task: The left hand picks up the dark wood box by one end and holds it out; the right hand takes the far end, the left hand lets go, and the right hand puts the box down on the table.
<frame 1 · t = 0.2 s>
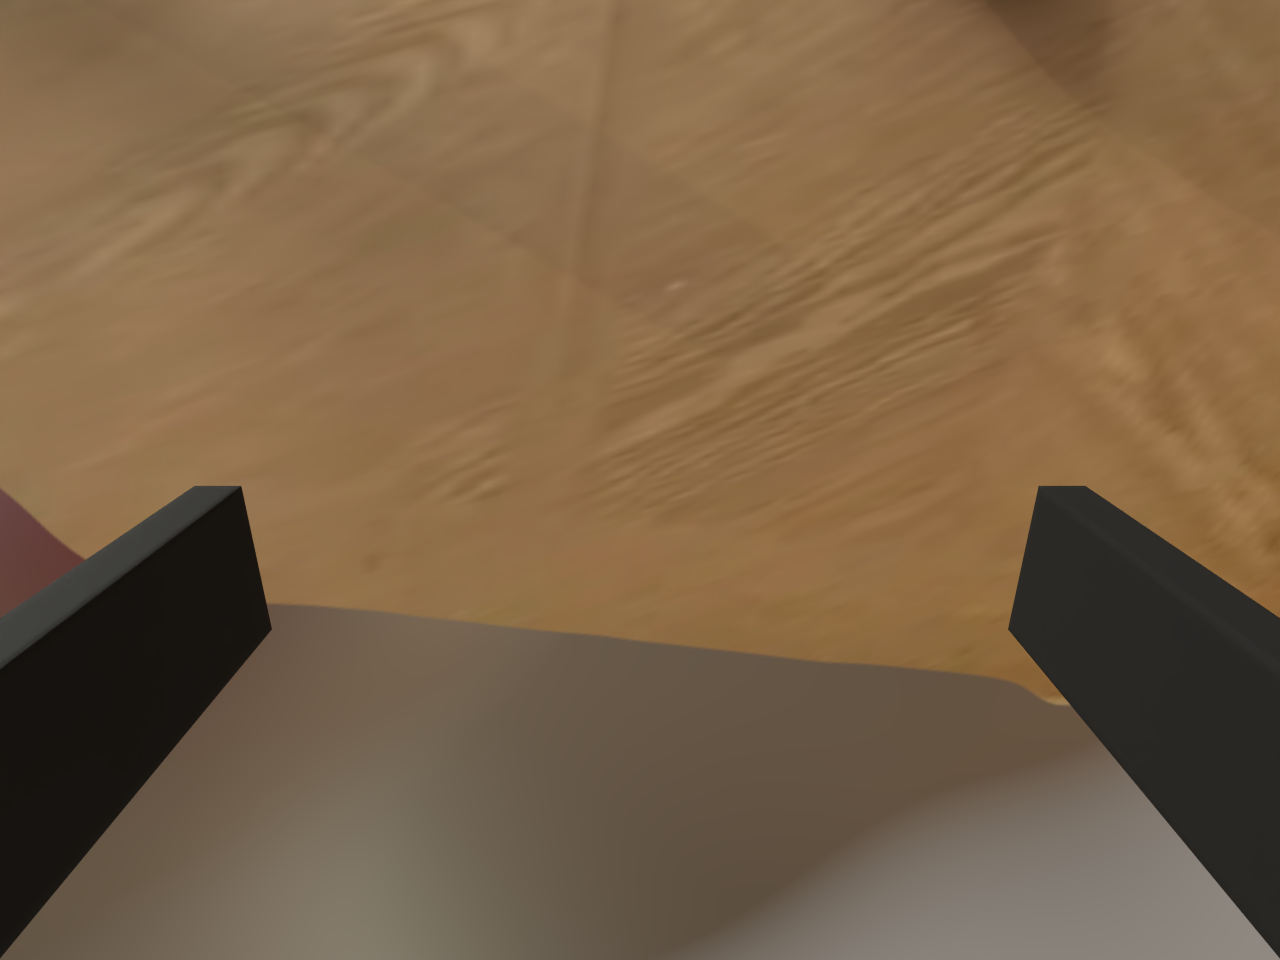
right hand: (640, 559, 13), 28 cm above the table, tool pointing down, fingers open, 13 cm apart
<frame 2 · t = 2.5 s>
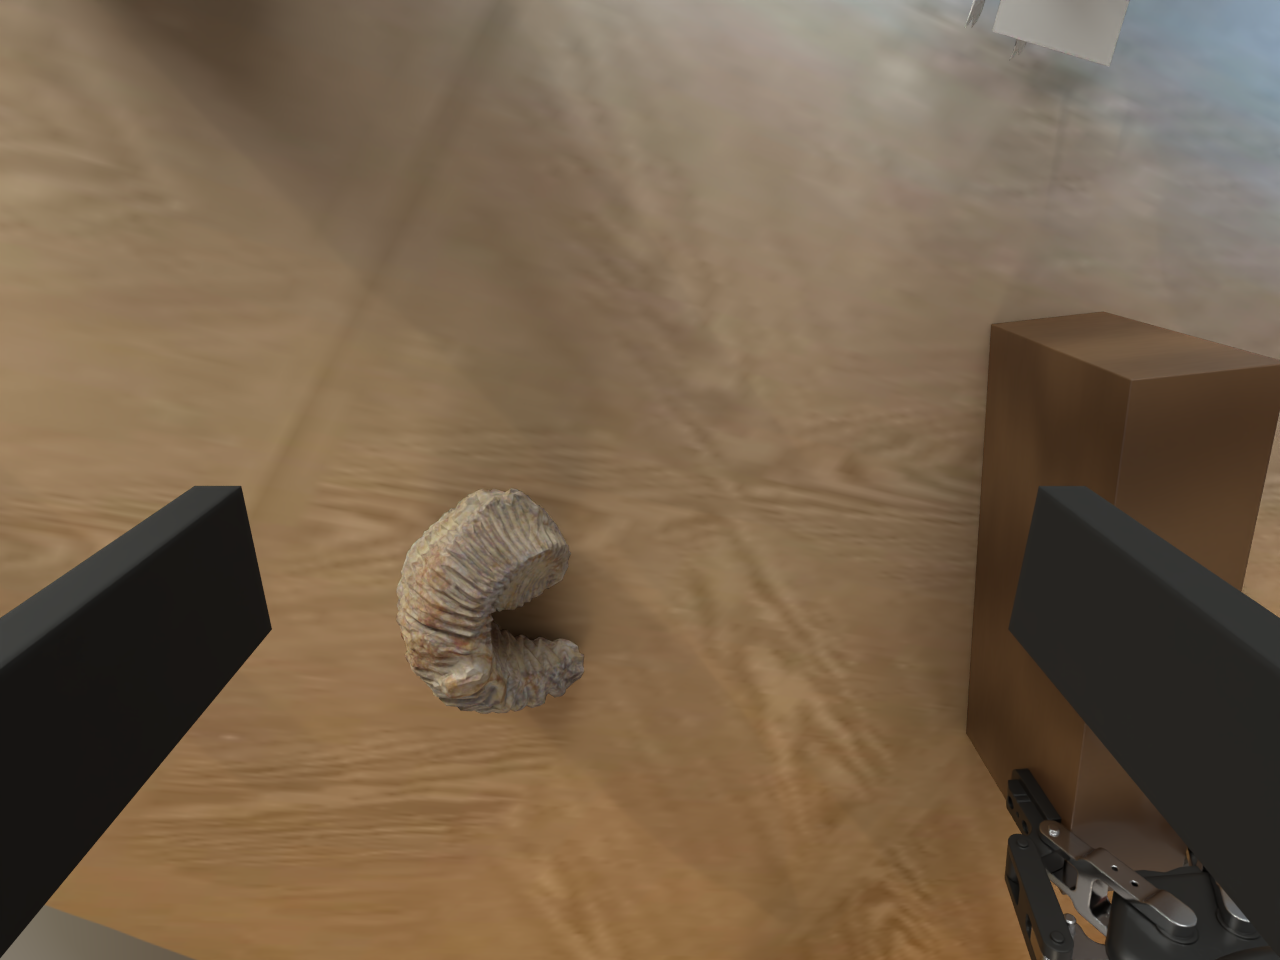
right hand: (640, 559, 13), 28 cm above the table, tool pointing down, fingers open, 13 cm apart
left hand: (1078, 776, 40), fingers closed on box, 5 cm apart
seashell: (513, 571, 44), on the table
box: (1026, 546, 43), on the table, touching left hand
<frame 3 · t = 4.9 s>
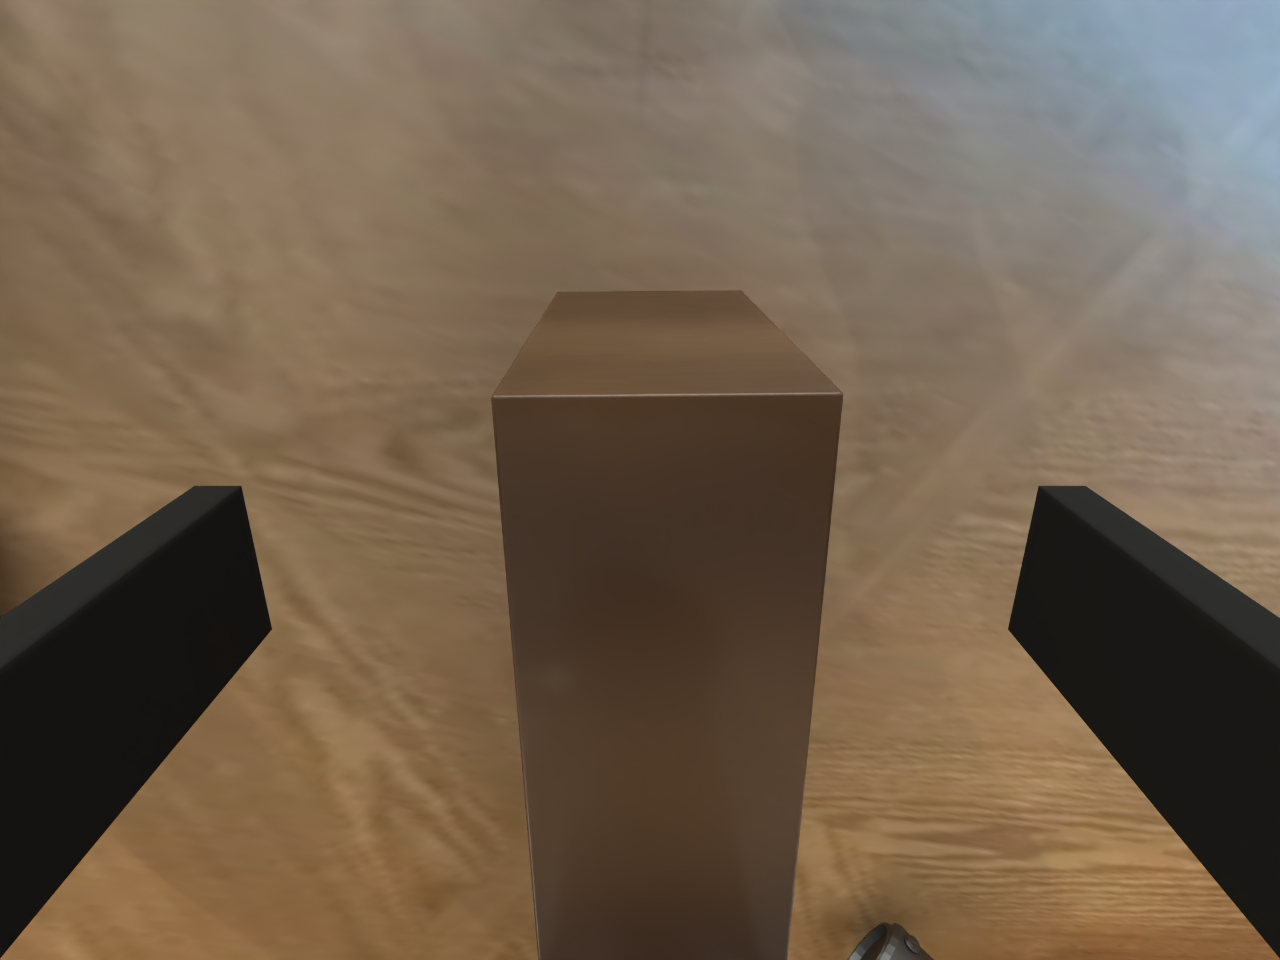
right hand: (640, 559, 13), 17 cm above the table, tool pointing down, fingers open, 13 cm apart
box: (650, 651, 28), point 5 cm above the table, touching left hand
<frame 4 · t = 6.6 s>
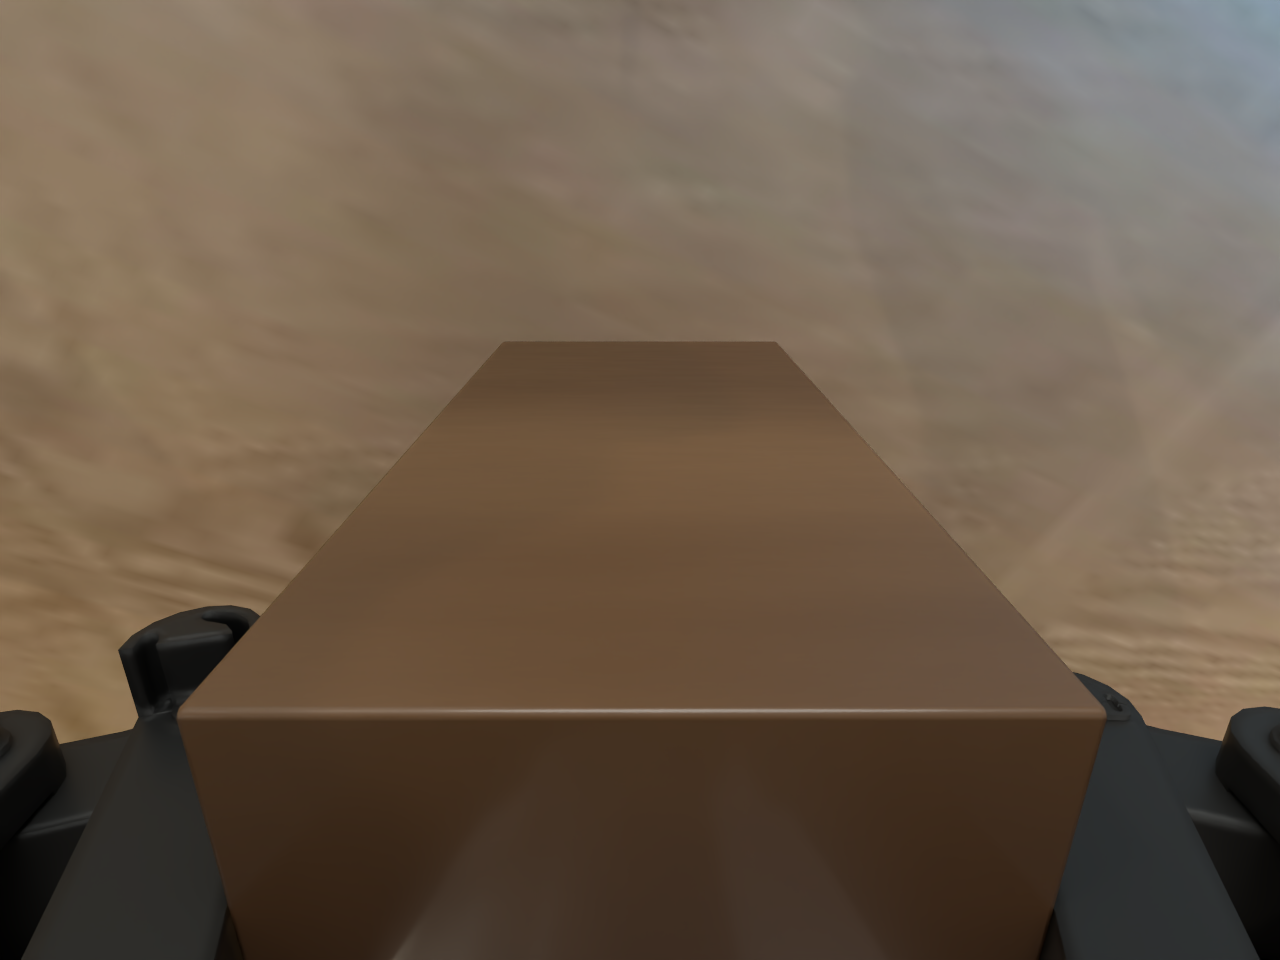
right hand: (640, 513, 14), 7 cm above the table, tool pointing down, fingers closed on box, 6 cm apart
box: (639, 825, 20), point 5 cm above the table, touching right hand, left hand
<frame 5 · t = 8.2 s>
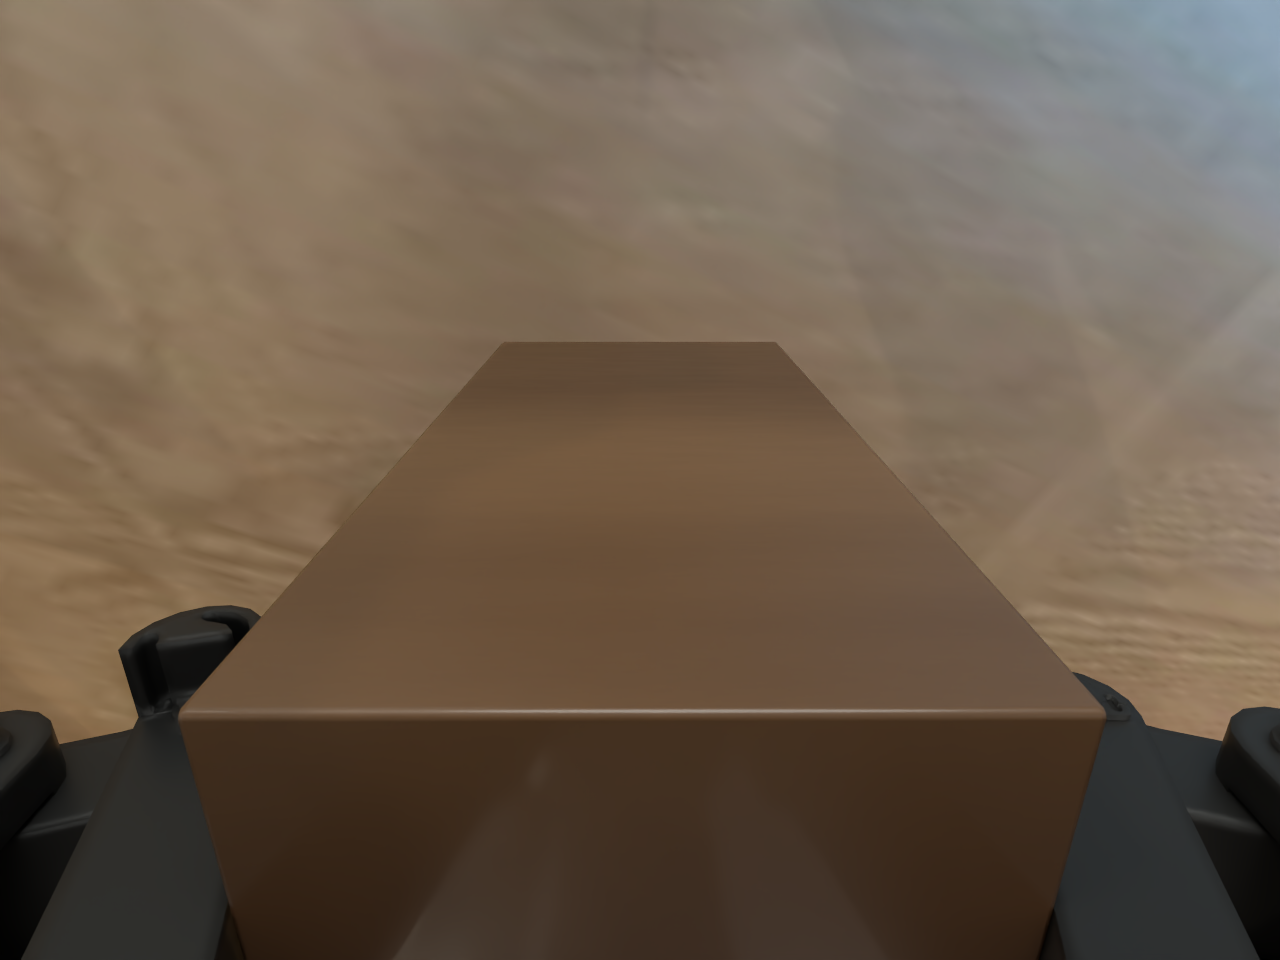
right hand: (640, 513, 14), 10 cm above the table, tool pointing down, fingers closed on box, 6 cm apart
box: (639, 825, 20), point 7 cm above the table, touching right hand
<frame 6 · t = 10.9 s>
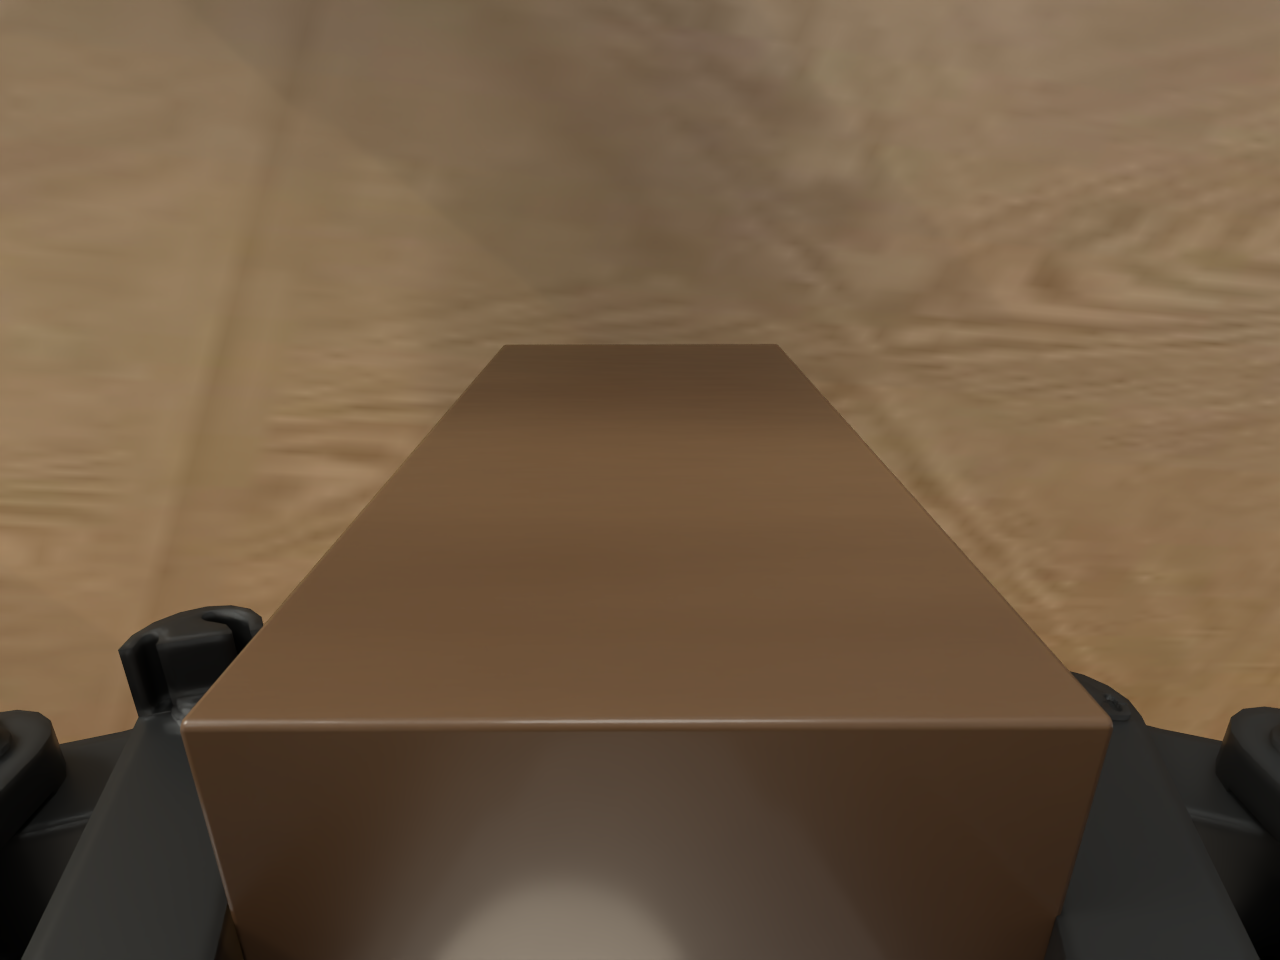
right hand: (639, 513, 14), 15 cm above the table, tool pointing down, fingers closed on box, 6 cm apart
box: (641, 828, 20), point 12 cm above the table, touching right hand
when the right hand's fingers open (4 cm above the table, at t = 15.4 s): box drops 1 cm, on the table.
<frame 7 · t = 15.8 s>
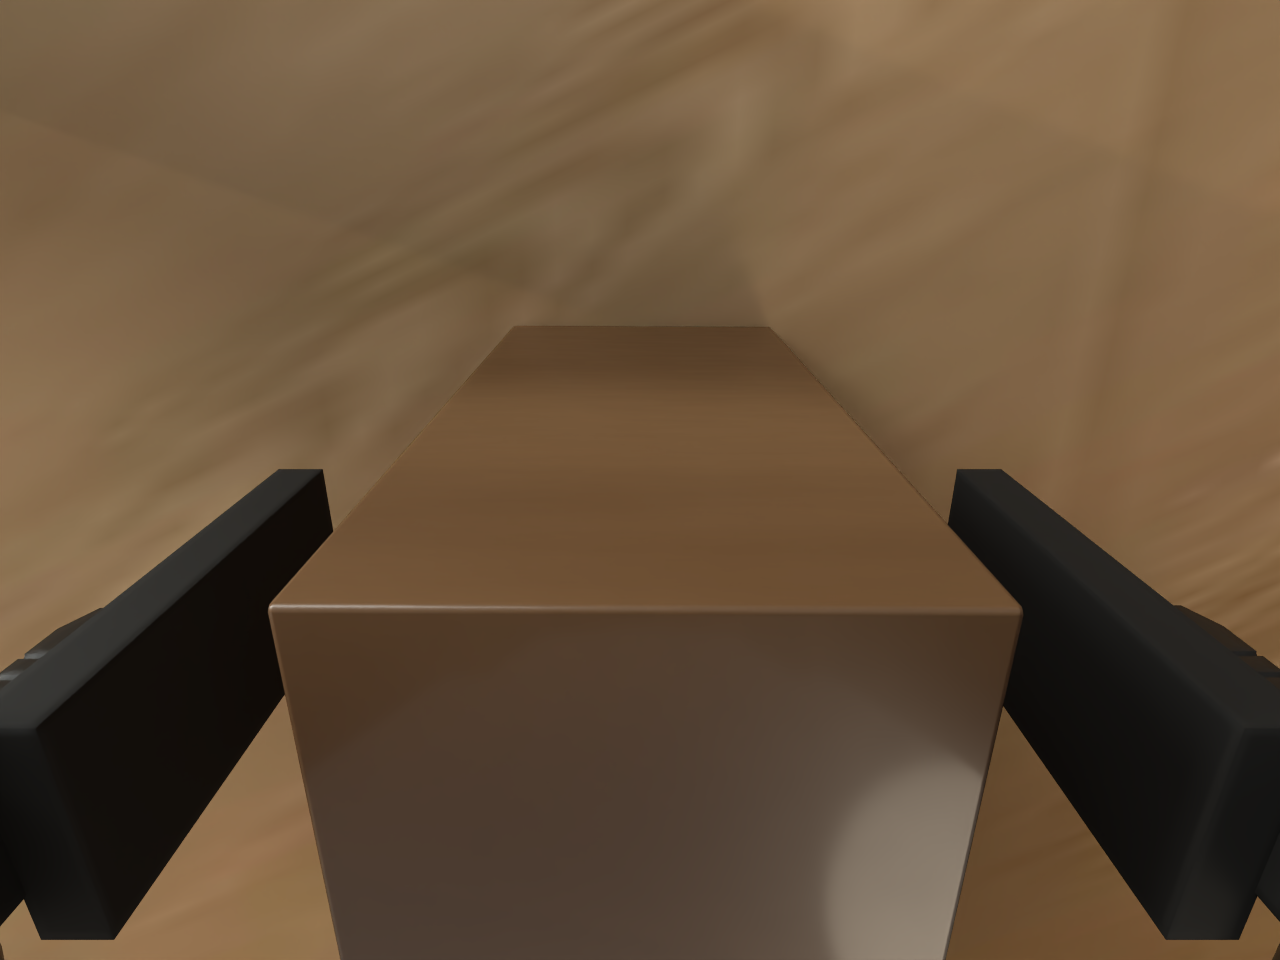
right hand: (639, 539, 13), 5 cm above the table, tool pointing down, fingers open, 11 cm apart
box: (639, 788, 21), on the table
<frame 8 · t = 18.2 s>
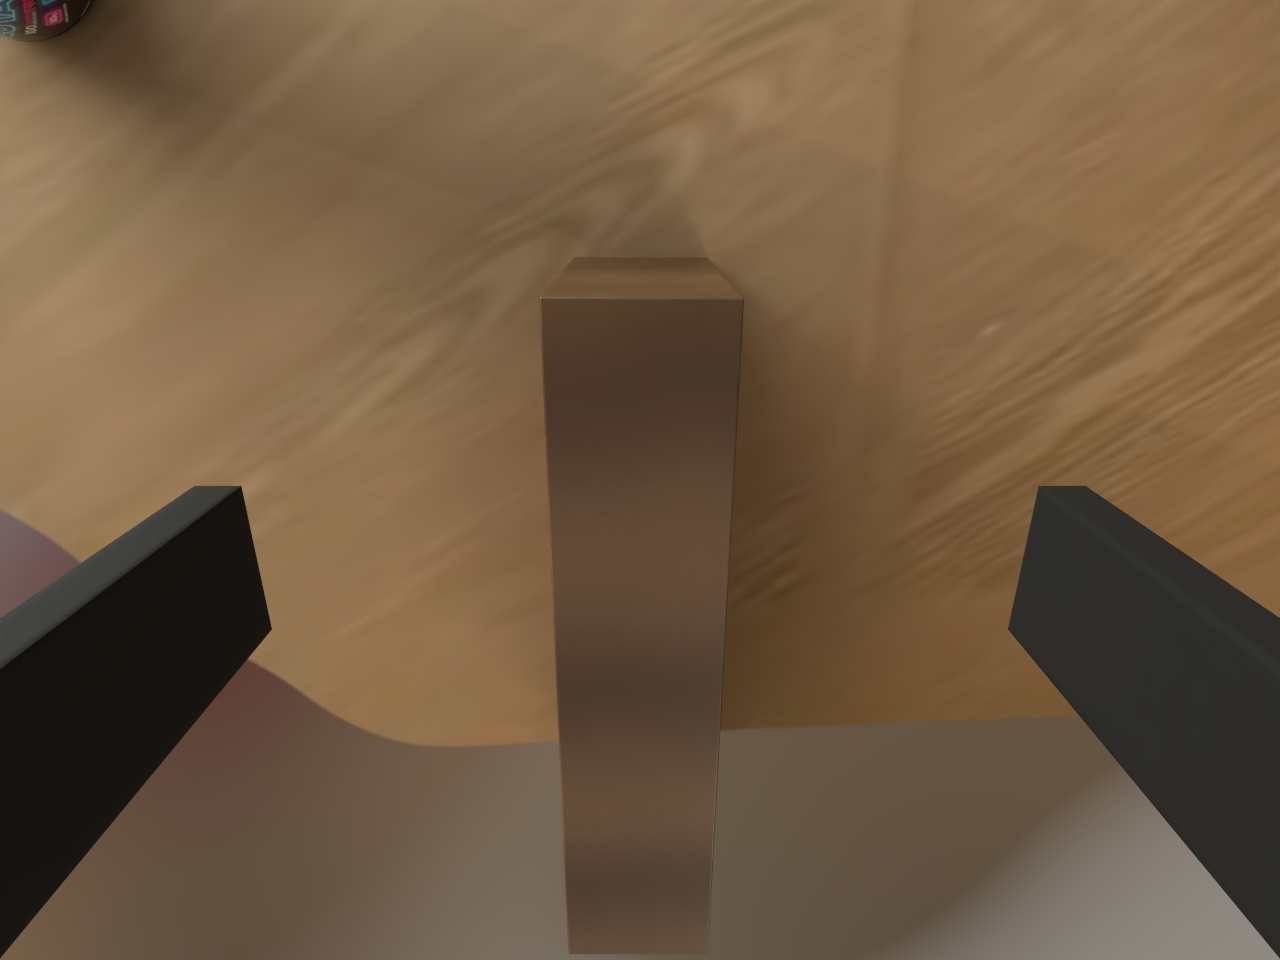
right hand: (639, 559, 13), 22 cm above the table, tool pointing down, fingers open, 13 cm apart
box: (639, 537, 37), on the table
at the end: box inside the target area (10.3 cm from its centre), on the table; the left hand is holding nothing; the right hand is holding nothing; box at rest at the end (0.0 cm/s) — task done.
